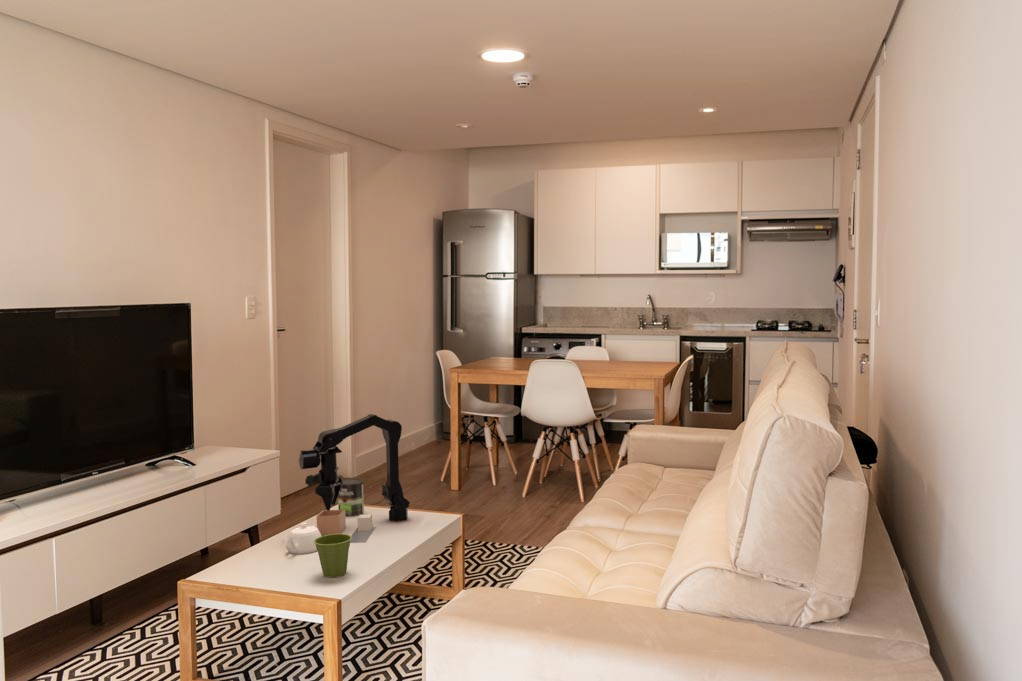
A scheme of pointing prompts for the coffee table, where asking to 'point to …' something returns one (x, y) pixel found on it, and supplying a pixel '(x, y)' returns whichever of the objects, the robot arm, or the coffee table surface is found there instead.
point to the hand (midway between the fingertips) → (330, 507)
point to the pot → (331, 522)
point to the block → (365, 522)
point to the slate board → (361, 536)
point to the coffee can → (351, 497)
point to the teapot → (302, 539)
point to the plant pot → (333, 553)
